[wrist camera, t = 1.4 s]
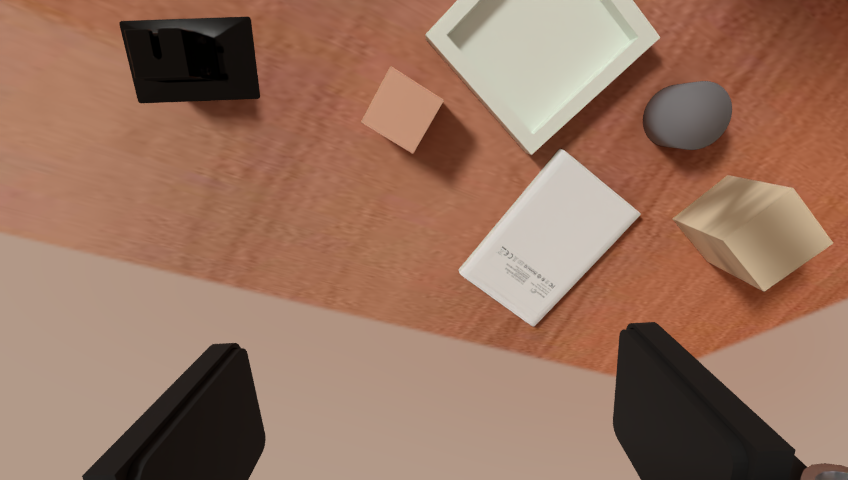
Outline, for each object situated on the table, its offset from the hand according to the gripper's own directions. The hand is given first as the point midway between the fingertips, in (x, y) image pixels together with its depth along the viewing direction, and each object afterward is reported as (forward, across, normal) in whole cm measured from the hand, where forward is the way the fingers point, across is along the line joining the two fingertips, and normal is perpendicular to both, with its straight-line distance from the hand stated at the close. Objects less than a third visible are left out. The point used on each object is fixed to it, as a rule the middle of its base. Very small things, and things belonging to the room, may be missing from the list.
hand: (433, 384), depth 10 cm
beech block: (+23, -22, +3) cm, 32 cm away
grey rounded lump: (+23, -18, -5) cm, 30 cm away
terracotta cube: (+23, +2, -7) cm, 24 cm away
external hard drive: (+24, -9, +4) cm, 26 cm away
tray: (+23, -8, -11) cm, 27 cm away
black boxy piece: (+24, +17, -12) cm, 31 cm away
